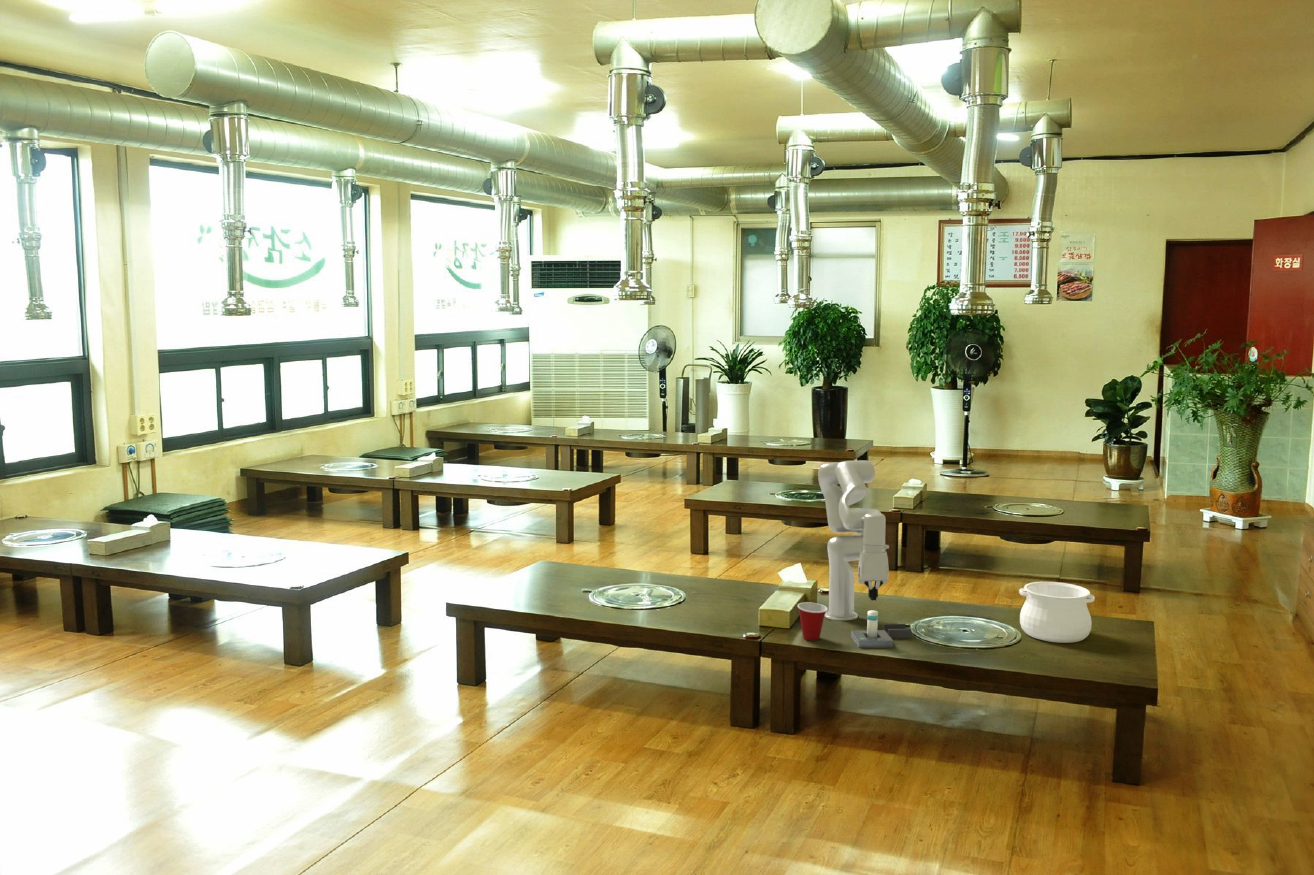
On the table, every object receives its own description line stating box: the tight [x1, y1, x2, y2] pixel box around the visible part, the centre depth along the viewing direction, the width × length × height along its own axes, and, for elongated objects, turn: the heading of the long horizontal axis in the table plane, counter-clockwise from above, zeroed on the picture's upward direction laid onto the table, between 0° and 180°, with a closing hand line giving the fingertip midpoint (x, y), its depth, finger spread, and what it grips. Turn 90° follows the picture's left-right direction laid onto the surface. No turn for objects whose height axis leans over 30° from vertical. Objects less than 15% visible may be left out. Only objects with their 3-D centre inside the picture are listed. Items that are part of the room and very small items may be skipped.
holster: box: [882, 623, 912, 639], centre depth 378 cm, size 8×8×4 cm
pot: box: [1018, 581, 1096, 644], centre depth 380 cm, size 26×24×17 cm
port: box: [850, 629, 894, 649], centre depth 370 cm, size 12×12×3 cm
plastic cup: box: [797, 601, 829, 642], centre depth 376 cm, size 11×11×12 cm
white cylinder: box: [866, 609, 879, 638], centre depth 370 cm, size 4×4×11 cm
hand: (873, 599), depth 368 cm, fingers closed
